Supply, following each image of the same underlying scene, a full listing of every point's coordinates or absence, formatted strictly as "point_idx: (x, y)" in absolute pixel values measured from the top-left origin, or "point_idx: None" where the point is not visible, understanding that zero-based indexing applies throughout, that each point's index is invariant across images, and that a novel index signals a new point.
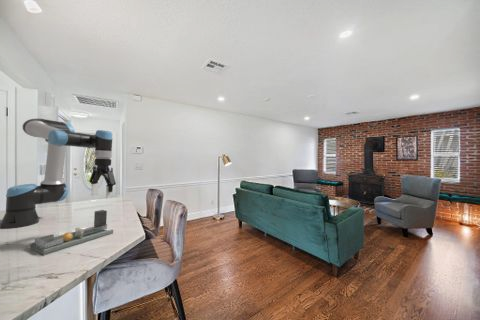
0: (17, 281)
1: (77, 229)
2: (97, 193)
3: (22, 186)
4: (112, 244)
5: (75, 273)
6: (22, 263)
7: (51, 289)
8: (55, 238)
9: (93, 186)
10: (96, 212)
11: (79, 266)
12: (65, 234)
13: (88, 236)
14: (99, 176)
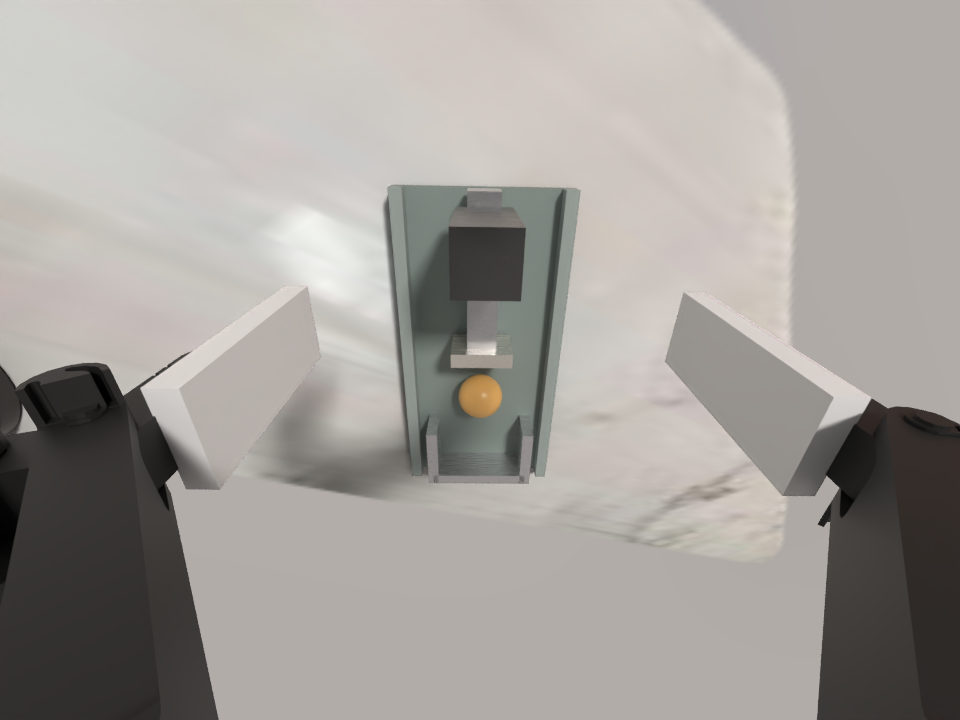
0: (647, 530)
1: (475, 366)
2: (298, 297)
3: None
4: (708, 289)
5: None
6: (542, 501)
7: (770, 512)
8: (417, 405)
9: (245, 435)
10: (481, 299)
11: None
12: (487, 415)
13: (551, 334)
14: (174, 676)
